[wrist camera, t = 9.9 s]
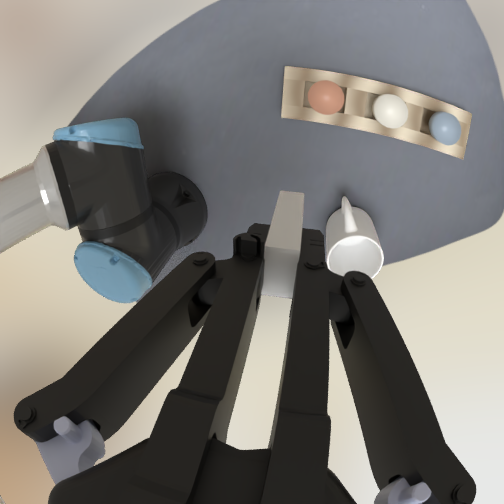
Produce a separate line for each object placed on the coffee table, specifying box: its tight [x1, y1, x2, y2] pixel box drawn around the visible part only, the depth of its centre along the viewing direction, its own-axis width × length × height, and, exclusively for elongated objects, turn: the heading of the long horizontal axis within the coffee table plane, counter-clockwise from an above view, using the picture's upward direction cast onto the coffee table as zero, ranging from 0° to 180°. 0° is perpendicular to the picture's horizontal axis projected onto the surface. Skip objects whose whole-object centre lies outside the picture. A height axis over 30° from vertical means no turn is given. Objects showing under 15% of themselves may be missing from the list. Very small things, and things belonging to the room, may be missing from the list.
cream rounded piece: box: [372, 94, 408, 129], centre depth 32 cm, size 5×5×4 cm
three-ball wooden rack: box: [281, 66, 472, 159], centre depth 34 cm, size 30×8×3 cm, turn 88°
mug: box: [326, 196, 384, 279], centre depth 42 cm, size 9×12×11 cm
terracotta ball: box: [308, 80, 344, 115], centre depth 33 cm, size 5×5×4 cm
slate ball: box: [428, 111, 461, 145], centre depth 30 cm, size 5×5×4 cm
